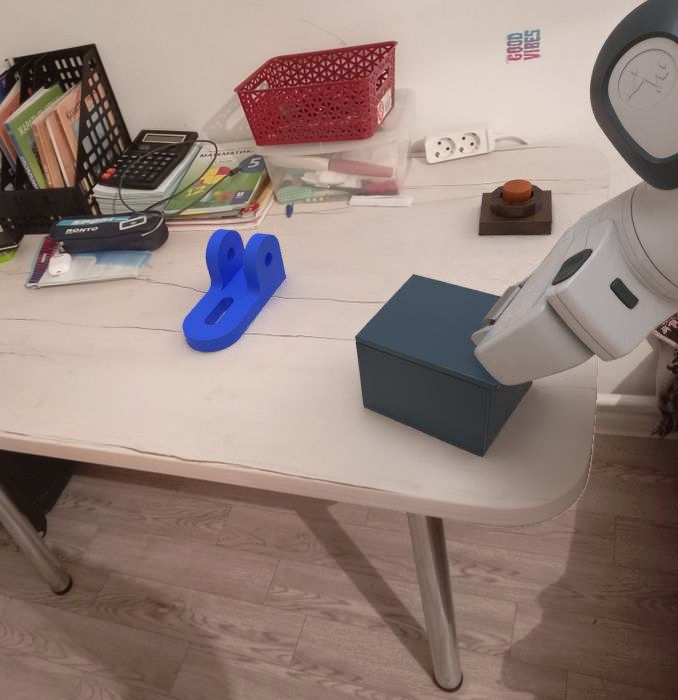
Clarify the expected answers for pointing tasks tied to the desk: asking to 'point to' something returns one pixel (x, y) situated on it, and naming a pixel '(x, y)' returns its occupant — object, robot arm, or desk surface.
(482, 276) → the desk surface
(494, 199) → the control block
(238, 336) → the bracket
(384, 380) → the open box
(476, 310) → the box lid
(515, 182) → the button
